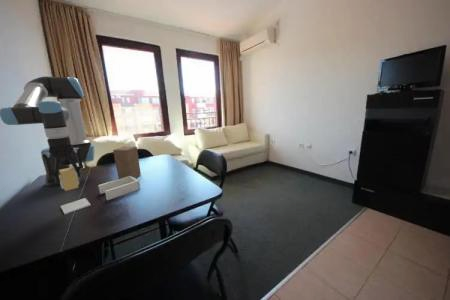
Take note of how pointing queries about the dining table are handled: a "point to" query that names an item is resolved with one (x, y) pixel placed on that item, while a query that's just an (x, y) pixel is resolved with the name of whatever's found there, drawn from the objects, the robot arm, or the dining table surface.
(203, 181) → the dining table surface
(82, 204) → the tile
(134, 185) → the white u-shaped frame
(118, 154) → the wooden block
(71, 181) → the block
